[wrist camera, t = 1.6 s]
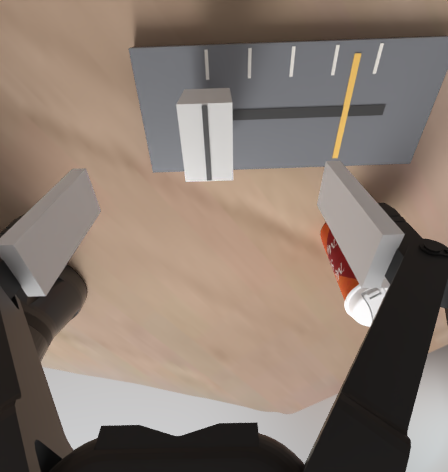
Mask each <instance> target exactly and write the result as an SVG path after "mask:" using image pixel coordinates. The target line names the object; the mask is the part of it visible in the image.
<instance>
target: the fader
mask: <svg viewBox="0 0 448 472" xmlns="http://www.w3.org/2000/svg"><path fill="white" fill-rule="evenodd" d="M176 107H177V116H178V124H179V132H180V140H181V148H182V156H183V164H184V172H185V180H186V182H196V181H225V180H233V109H232V98H231V93H230V88H210V89H184V91H183V93H182V95H181V97H180V98H179V100H178V102H177V104H176Z"/></svg>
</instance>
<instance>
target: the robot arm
mask: <svg viewBox="0 0 448 472" xmlns="http://www.w3.org/2000/svg"><path fill="white" fill-rule="evenodd" d="M317 206H318V208H319V210H320V211H321V213H322V215H323V217H324V219H325V221H326V223H327V225H328V226H329V228H330V230H331V232H332V234H333V236H334V238H335V239H336V241H337V243H338V245H339V247H340V249H341V251H342V253H343V254H344V256H345V258H346V260H347V262H348V264H349V266H350V268H351V269H352V271H353V273H354V275H355V277H356V279H357V281H358V282H359V284H360V286H361V288H380V287H381V285H382V283H383V280H384V278H385V277H386V279H387V281H388V282H389V284H390V286H389V288H388V290H387V292H386V294H385V296H384V298H383V300H382V302H381V305H380V307H379V309H378V311H377V313H376V315H375V317H374V319H373V322H372V324H371V326H370V328H369V330H368V332H367V334H366V336H365V338H364V341H363V343H362V345H361V347H360V349H359V351H358V353H357V355H356V357H355V360H354V362H353V364H352V366H351V368H350V370H349V372H348V374H347V376H346V379H345V381H344V383H343V385H342V387H341V389H340V391H339V393H338V395H337V398H336V400H335V402H334V404H333V406H332V408H331V410H330V412H329V414H328V417H327V419H326V421H325V423H324V425H323V427H322V429H321V431H320V434H319V436H318V438H317V440H316V442H315V444H314V446H313V448H312V450H311V452H310V454H309V456H308V458H307V460H306V463H305V465H304V464H303V462H302V461H301V460H300V459H299V458H298V457H297V456H296V455H295V454H294V453H293V452H292V451H290V450H289V449H288V448H287V447H286V446H284V445H283V444H281V443H280V442H278V441H276V440H275V439H272V438H270V437H268V436H266V435H262V434H259V433H258V426H257V423H219V424H216V425H213V426H210V427H207V428H204V429H201V430H198V431H195V432H192V433H188V434H185V435H182V436H173V435H170V434H166V433H163V432H160V431H157V430H153V429H150V428H147V427H144V426H140V425H125V426H124V425H122V426H101V429H100V432H99V435H98V438H97V439H94V440H92V441H90V442H87V443H85V444H83V445H82V446H80V447H78V448H77V449H75V450H74V451H73V449H72V448H71V446H70V444H69V442H68V441H67V439H66V436H65V434H64V431H63V428H62V425H61V422H60V419H59V416H58V413H57V410H56V407H55V404H54V401H53V398H52V395H51V392H50V389H49V386H48V383H47V380H46V377H45V374H44V371H43V368H42V365H41V361H42V359H43V357H44V355H45V353H46V351H47V349H48V347H49V345H50V343H51V341H52V340H53V338H54V337H55V336H56V335H57V334H58V333H59V332H60V331H61V329H62V328H63V327H64V326H65V325H66V324H67V323H68V322H69V321H70V320H71V319H73V318H74V317H75V316H76V315H77V314H78V313H79V312H80V310H81V308H82V306H83V304H84V302H85V300H86V297H87V290H86V286H85V284H84V282H83V280H82V279H81V277H80V276H79V275H78V274H77V273H76V272H75V271H74V270H73V269H72V268H70V267H69V266H67V265H66V264H67V263H68V261H69V260H70V258H71V257H72V255H73V254H74V252H75V251H76V249H77V248H78V246H79V244H80V243H81V241H82V240H83V238H84V237H85V235H86V234H87V232H88V231H89V229H90V227H91V226H92V224H93V223H94V221H95V220H96V218H97V217H98V215H99V214H100V212H101V210H100V207H99V204H98V201H97V198H96V195H95V193H94V190H93V187H92V184H91V181H90V178H89V176H88V173H87V170H86V169H72V170H71V171H69V172H68V173H67V174H66V175H65V176H64V177H63V178H62V179H61V180H60V181H59V182H58V183H57V184H56V185H55V186H54V187H53V188H52V189H51V190H50V191H49V192H48V193H47V194H46V195H44V196H43V197H42V198H41V199H40V200H39V201H38V202H37V203H36V204H35V205H34V206H33V207H32V208H31V209H30V210H29V211H28V212H27V213H26V214H24V215H22V216H20V217H19V218H17V219H15V220H14V221H13V222H11V223H10V224H9V225H8V226H7V227H6V229H4V230H3V231H2V232H1V233H0V472H405V471H406V467H407V463H408V459H409V453H410V448H411V441H410V439H409V437H408V436H407V430H408V426H409V422H410V418H411V414H412V411H413V406H414V403H415V399H416V395H417V392H418V388H419V384H420V380H421V377H422V373H423V369H424V365H425V362H426V358H427V354H428V350H429V347H430V343H431V339H432V335H433V332H434V328H435V324H436V320H437V317H438V313H439V309H440V307H442V308H445V313H446V319H447V324H448V247H446V246H445V245H443V244H441V243H439V242H437V241H434V240H430V239H423V238H422V237H421V236H420V235H419V234H418V233H417V232H416V231H415V230H414V229H413V228H412V227H411V226H410V225H409V224H408V223H407V222H406V221H405V219H404V218H403V217H401V215H400V214H399V213H398V212H397V211H396V210H395V209H394V208H392V207H390V206H389V205H387V204H385V203H377V202H376V201H375V200H374V199H373V197H372V196H371V195H370V194H369V193H368V192H367V191H366V190H365V188H364V187H363V186H362V185H361V184H360V183H359V182H358V180H357V179H356V178H355V177H354V176H353V175H352V174H351V173H350V171H349V170H348V169H347V168H346V167H345V166H344V165H343V163H342V162H341V161H326V163H325V168H324V173H323V178H322V183H321V188H320V193H319V198H318V202H317Z"/></svg>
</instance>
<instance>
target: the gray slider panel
mask: <svg viewBox="0 0 448 472" xmlns="http://www.w3.org/2000/svg"><path fill="white" fill-rule="evenodd" d="M129 53H130V58H131V63H132V68H133V73H134V78H135V83H136V88H137V93H138V99H139V104H140V109H141V114H142V119H143V124H144V129H145V134H146V139H147V144H148V149H149V154H150V159H151V164H152V170H153V172H180V171H184V164H183V156H182V148H181V140H180V132H179V124H178V116H177V107H176V104H177V102H178V100H179V98H180V97H181V95H182V93H183V91H184V89H210V88H230V93H231V98H232V109H233V170H238V169H267V168H296V167H325V163H326V161H341V162H342V163H343V165H344V166H354V165H383V164H410V163H411V160H412V158H413V155H414V153H415V150H416V148H417V145H418V142H419V140H420V137H421V135H422V132H423V130H424V127H425V125H426V122H427V120H428V117H429V115H430V112H431V110H432V107H433V105H434V102H435V100H436V97H437V95H438V92H439V90H440V87H441V85H442V82H443V80H444V77H445V75H446V72H447V69H448V36H429V37H401V38H373V39H346V40H318V41H290V42H263V43H235V44H207V45H180V46H152V47H132V48H129Z"/></svg>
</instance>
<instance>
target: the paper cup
mask: <svg viewBox="0 0 448 472" xmlns="http://www.w3.org/2000/svg"><path fill="white" fill-rule="evenodd" d="M321 239H322V242H323V245H324V248H325V250H326V253H327V256H328V258H329V261H330V264H331V266H332V269H333V271H334V274H335V277H336V279H337V282H338V284H339V287H340V290H341V292H342V295H343V297H344V300H345V303H344V307H345V310H346V312H347V313H348V314H349V315H350V316H351V317H353V318H354V319H355V321H357V322H358V323H360V324H361V325H364V326H369V327H370V326H371V324H372V322H373V319H374V317H375V315H376V313H377V311H378V309H379V307H380V305H381V302H382V300H383V298H384V296H385V294H386V292H387V290H388V288H389V286H390V284H389V282H388V281H387V279H386V277H385V278H384V280H383V283H382V285H381V287H380V288H361V286H360V284H359V282H358V281H357V279H356V277H355V275H354V273H353V271H352V269H351V268H350V266H349V264H348V262H347V260H346V258H345V256H344V254H343V253H342V251H341V249H340V247H339V245H338V243H337V241H336V239H335V238H334V236H333V234H332V232H331V230H330V228H329V226H328V225H327V223H325V224H324V226H323V227H322V230H321Z"/></svg>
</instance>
